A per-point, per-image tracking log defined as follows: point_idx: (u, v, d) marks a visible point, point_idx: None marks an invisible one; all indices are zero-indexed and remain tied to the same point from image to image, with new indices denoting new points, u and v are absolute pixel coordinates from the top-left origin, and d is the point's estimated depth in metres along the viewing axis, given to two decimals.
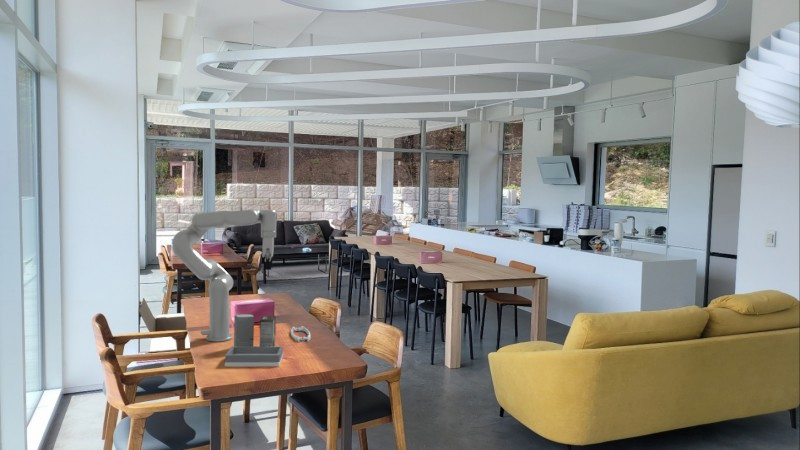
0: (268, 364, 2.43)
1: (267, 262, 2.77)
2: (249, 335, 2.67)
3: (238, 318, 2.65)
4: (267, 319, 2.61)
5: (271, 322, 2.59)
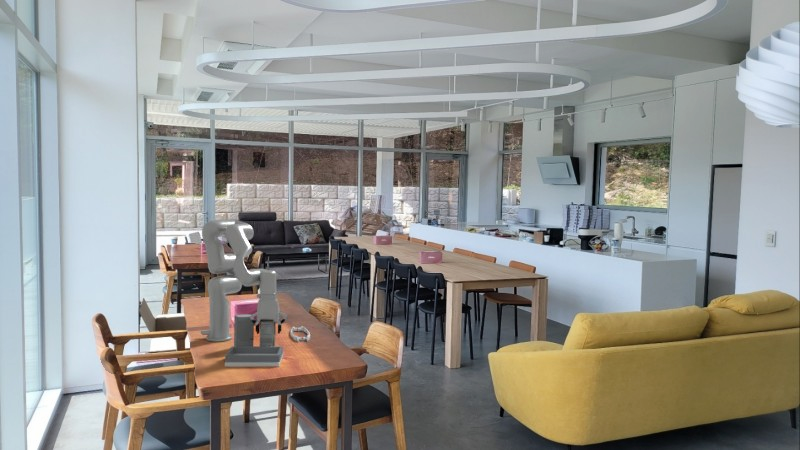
0: (268, 364, 2.43)
1: None
2: (249, 335, 2.67)
3: (238, 318, 2.65)
4: None
5: (271, 322, 2.59)
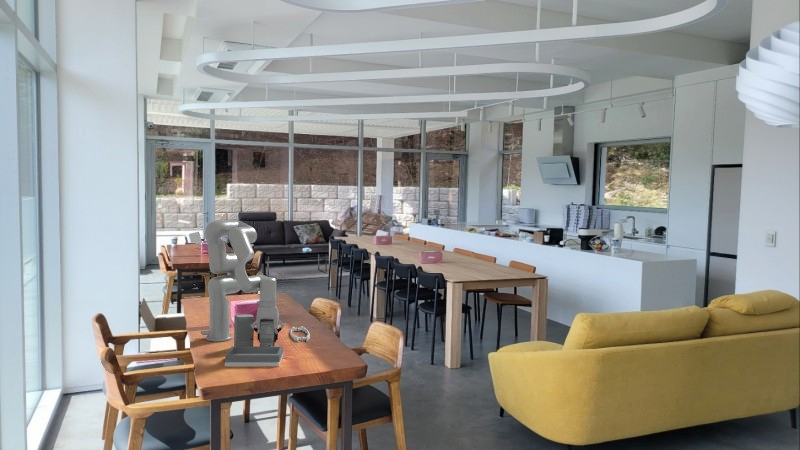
0: (268, 364, 2.43)
1: (277, 333, 2.64)
2: (249, 335, 2.67)
3: (238, 318, 2.65)
4: (267, 319, 2.61)
5: (271, 322, 2.59)
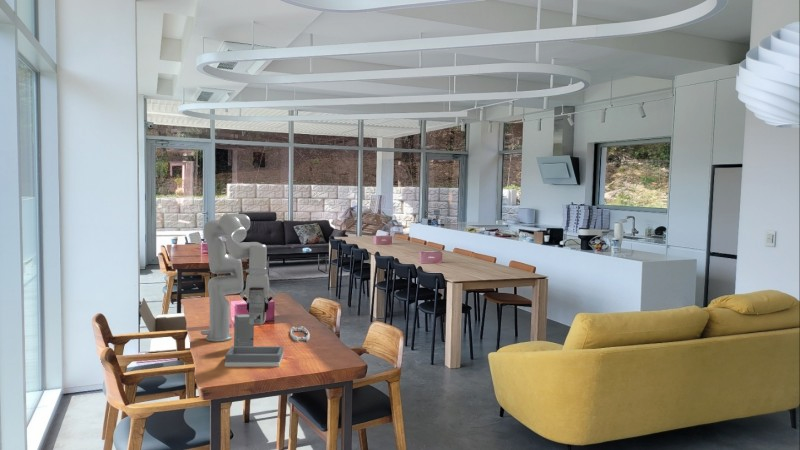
0: (268, 364, 2.43)
1: None
2: (249, 335, 2.67)
3: (238, 318, 2.65)
4: None
5: (261, 290, 2.46)
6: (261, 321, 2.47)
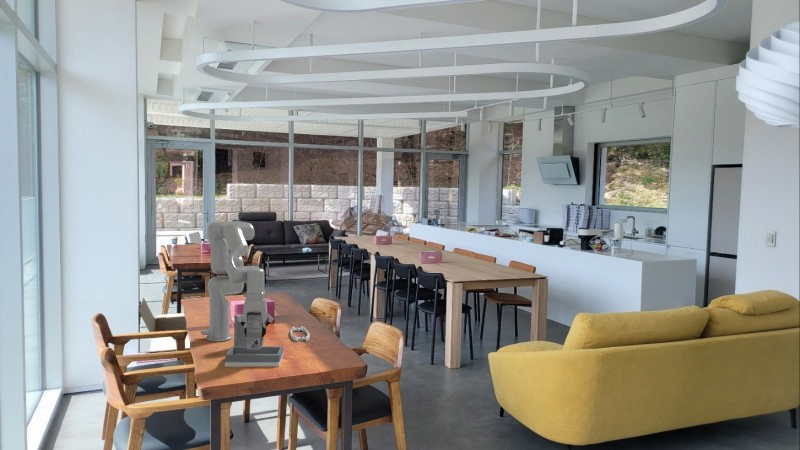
0: (268, 364, 2.43)
1: (265, 328, 2.50)
2: None
3: None
4: None
5: (259, 315, 2.45)
6: (258, 346, 2.46)
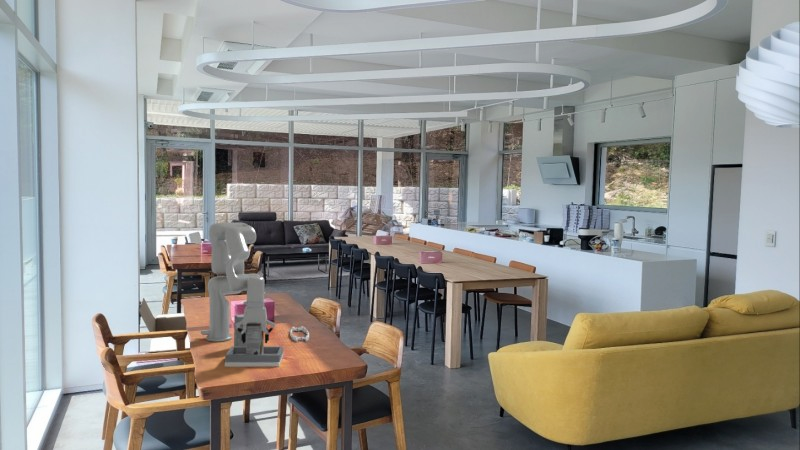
0: (268, 364, 2.43)
1: (268, 334, 2.50)
2: None
3: (238, 318, 2.65)
4: (254, 323, 2.46)
5: (258, 326, 2.45)
6: None
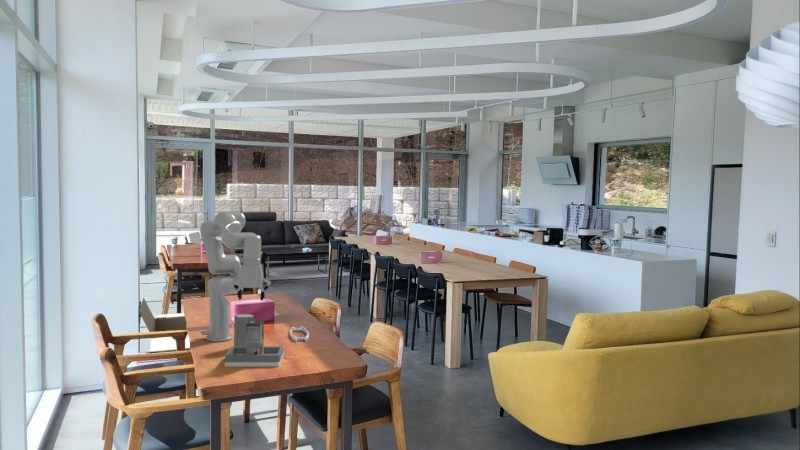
0: (268, 364, 2.43)
1: (264, 292, 2.54)
2: None
3: (238, 318, 2.65)
4: (254, 323, 2.46)
5: (258, 326, 2.45)
6: None
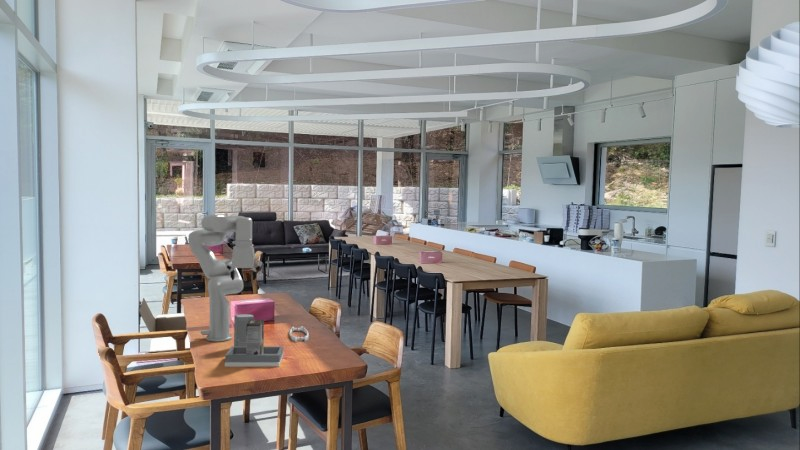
0: (268, 364, 2.43)
1: (256, 272, 2.65)
2: None
3: (238, 318, 2.65)
4: (254, 323, 2.46)
5: (258, 326, 2.45)
6: None
